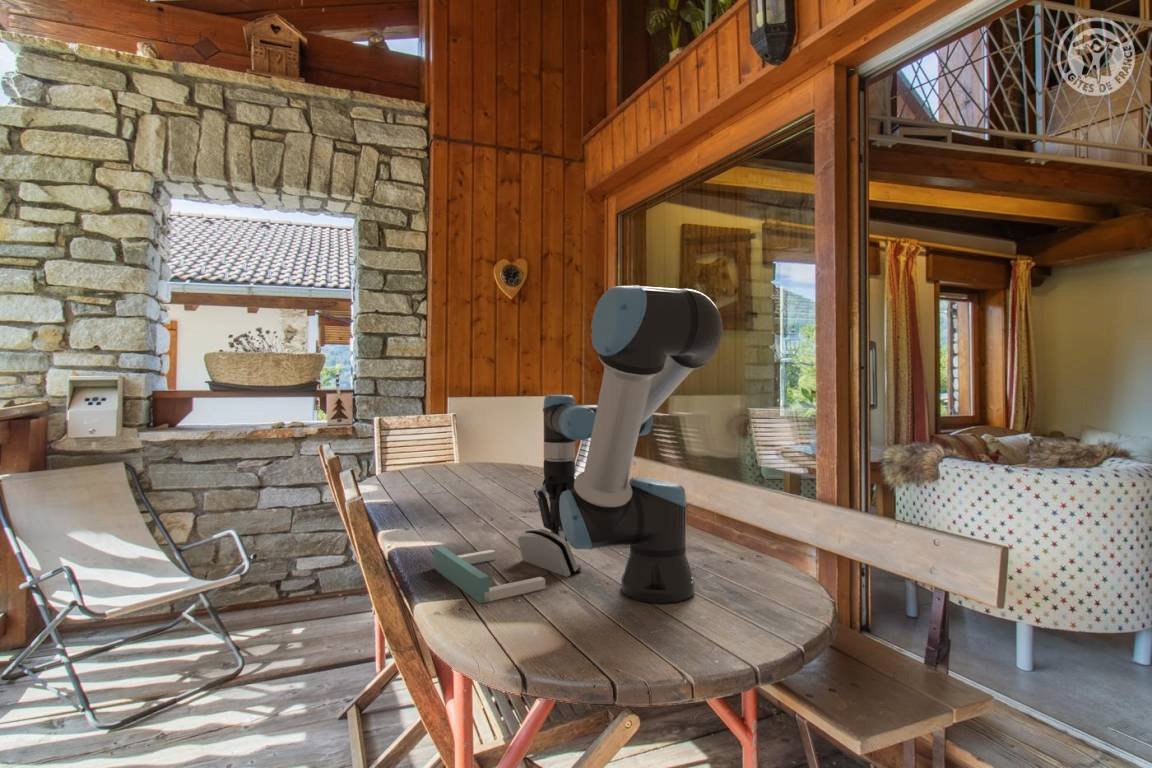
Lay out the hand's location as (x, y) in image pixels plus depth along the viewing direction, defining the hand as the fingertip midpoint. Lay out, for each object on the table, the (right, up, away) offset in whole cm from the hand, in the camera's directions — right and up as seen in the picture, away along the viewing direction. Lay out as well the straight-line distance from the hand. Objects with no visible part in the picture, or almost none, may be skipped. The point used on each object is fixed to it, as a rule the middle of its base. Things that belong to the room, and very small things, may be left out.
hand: (559, 556), depth 144 cm
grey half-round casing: (-3, -2, -3) cm, 5 cm away
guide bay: (-16, -2, -10) cm, 19 cm away
